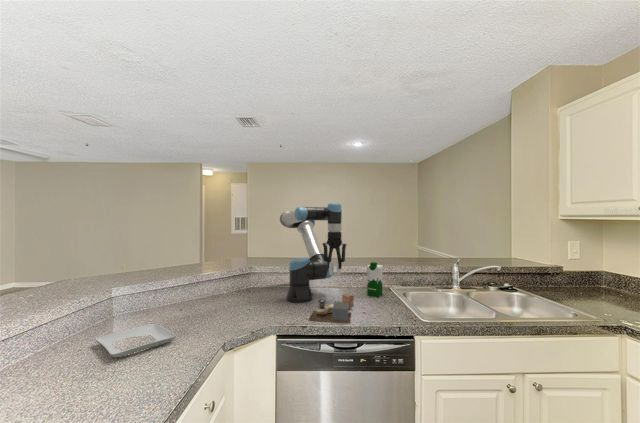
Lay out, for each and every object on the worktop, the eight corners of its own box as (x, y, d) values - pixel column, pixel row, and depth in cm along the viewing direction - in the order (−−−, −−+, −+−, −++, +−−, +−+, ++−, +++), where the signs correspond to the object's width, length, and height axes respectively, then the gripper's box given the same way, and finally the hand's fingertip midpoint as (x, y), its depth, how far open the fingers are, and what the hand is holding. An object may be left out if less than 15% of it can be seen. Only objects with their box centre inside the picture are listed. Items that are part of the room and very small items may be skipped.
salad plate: (155, 329, 124) (155, 321, 124) (177, 343, 110) (178, 334, 110) (93, 346, 107) (93, 337, 107) (111, 365, 94) (111, 354, 94)
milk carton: (365, 295, 176) (365, 262, 176) (371, 292, 184) (371, 260, 184) (379, 297, 171) (379, 263, 172) (384, 294, 179) (384, 261, 179)
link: (320, 315, 137) (320, 302, 137) (314, 312, 141) (314, 300, 142) (354, 307, 150) (354, 295, 150) (347, 304, 154) (347, 293, 154)
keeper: (308, 320, 133) (308, 304, 133) (313, 312, 146) (313, 297, 146) (350, 323, 131) (350, 306, 131) (351, 313, 143) (351, 298, 143)
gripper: (317, 231, 157) (317, 274, 157) (347, 232, 151) (347, 277, 150) (323, 230, 164) (322, 272, 164) (351, 231, 158) (351, 274, 157)
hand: (334, 274), depth 157 cm, fingers open, 4 cm apart
